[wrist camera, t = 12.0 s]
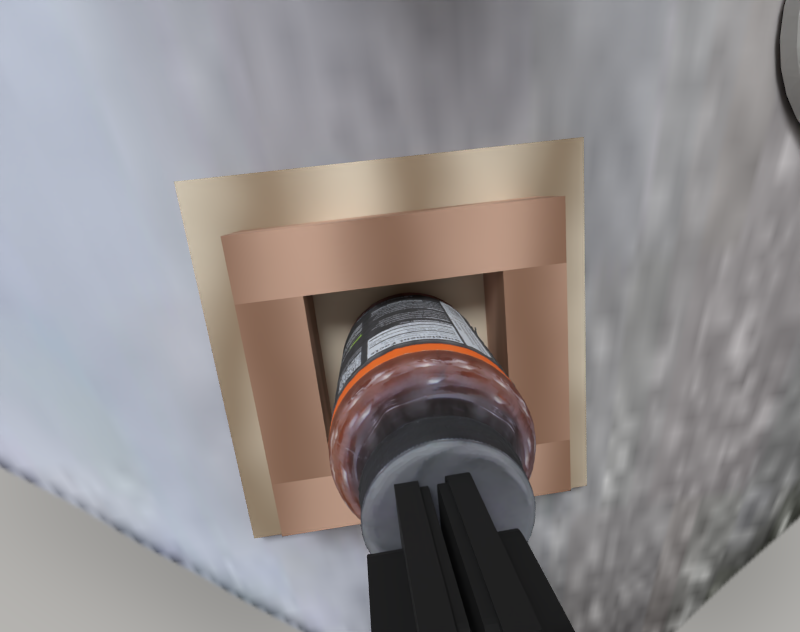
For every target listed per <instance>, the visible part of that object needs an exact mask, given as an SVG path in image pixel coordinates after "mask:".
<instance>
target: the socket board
mask: <svg viewBox="0 0 800 632" xmlns="http://www.w3.org/2000/svg"><path fill="white" fill-rule="evenodd" d="M174 184H175V188H176V193H177V197H178V201H179V206H180V210H181V215H182V219H183V224H184V228H185V233H186V237H187V241H188V246H189V250H190V255H191V259H192V264H193V268H194V273H195V277H196V281H197V286H198V290H199V295H200V299H201V304H202V308H203V312H204V317H205V321H206V326H207V330H208V335H209V339H210V344H211V348H212V352H213V357H214V361H215V366H216V370H217V375H218V379H219V384H220V388H221V392H222V397H223V401H224V406H225V410H226V415H227V419H228V424H229V428H230V432H231V437H232V441H233V446H234V450H235V455H236V459H237V464H238V468H239V472H240V477H241V481H242V486H243V490H244V495H245V499H246V504H247V508H248V512H249V517H250V521H251V526H252V530H253V535H254V538H260V537H266V536H272V535H279V534H282V536H288V535H294V534H300V533H307V532H313V531H319V530H326V529H332V528H338V527H344V526H351V525H357V524H361V520H360V519H358V518H357V516H356V515H354V514H353V513H352V512H351V510H350V509H349V508H348V507H347V505H346V504H345V502H344V501H343V499H342V497H341V495H340V494H339V492H338V490H337V488H336V485H335V483H334V480H333V477H332V474H331V468H330V461H329V447H328V442H329V433H330V426H331V418H332V412H333V406H334V402H335V395H336V389H337V383H338V378H339V372H340V367H341V361H342V356H343V349H344V345H345V342H346V340H347V337H348V334H349V332H350V330H351V328H352V326H353V324H354V323H355V322H356V320H357V319H358V317H359V316H360V315H361V314H362V313H363V312H364V311H365V310H366V309H368V308H369V307H370V306H371V305H372V304H374V303H375V302H377V301H379V300H381V299H383V298H386V297H388V296H392V295H395V294H400V293H408V292H411V293H424V294H428V295H432V296H435V297H437V298H439V299H441V300H444V301H445V302H447V303H448V304H450V305H451V306H452V307H453V308H455V309H456V310H457V311H458V312H459V313H460V314H461V315H462V316H463V317H464V318H465V319H466V320H467V321H468V322H469V324H470V326H472V327H473V329H474V330H475V328H474V327H476V331H477V334H478V337H479V338H481V340H482V341H483V343H484V345H485V346H486V347H487V348H488V349H489V351H490V352H491V353H492V355H493V357H494V358H495V359H496V361H497V362H498V364H499V365H501V366H502V368H503V370H504V371H505V373H506V374H507V376H508V377H509V379H510V380H511V381H512V382H513V383H514V385H515V387H516V389H517V390H518V391H519V393H520V395H521V396H522V398H523V399H524V401H525V403H526V405H527V407H528V409H529V411H530V414H531V416H532V420H533V423H534V430H535V435H536V452H535V461H534V465H533V471H532V474H531V477H530V479H529V482H530V484H531V487H532V490H533V494H534V496H539V495H545V494H552V493H558V492H564V491H571V488H575V487H581V486H587V468H586V356H585V244H584V137H580V138H571V139H562V140H552V141H543V142H534V143H525V144H516V145H506V146H497V147H488V148H479V149H470V150H461V151H451V152H442V153H433V154H424V155H415V156H406V157H396V158H387V159H378V160H369V161H360V162H350V163H341V164H332V165H323V166H314V167H305V168H295V169H286V170H277V171H268V172H259V173H249V174H240V175H231V176H222V177H213V178H204V179H194V180H185V181H176V182H174Z"/></svg>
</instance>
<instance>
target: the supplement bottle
mask: <svg viewBox="0 0 800 632" xmlns="http://www.w3.org/2000/svg"><path fill="white" fill-rule="evenodd" d="M474 328H475V330H474V329H473V327H472V326H470V324H469V322H468V321H467V320H466V319H465V318H464V317H463V316H462V315H461V314H460V313H459V312H458V311H457V310H456V309H455V308H453V307H452V306H451V305H450V304H448V303H447V302H445V301H444V300H441V299H439V298H437V297H435V296H432V295H428V294H424V293H411V292H408V293H400V294H395V295H392V296H388V297H386V298H383V299H381V300H379V301H377V302H375V303H374V304H372V305H371V306H370V307H369V308H368V309H366V310H365V311H364V312H363V313H362V314H361V315H360V316H359V317H358V319H357V320H356V322H355V323H354V324H353V326H352V328H351V330H350V332H349V334H348V337H347V340H346V342H345V345H344V349H343V356H342V361H341V367H340V372H339V378H338V383H337V389H336V395H335V402H334V406H333V412H332V418H331V426H330V433H329V442H328V447H329V461H330V468H331V474H332V477H333V480H334V483H335V485H336V488H337V490H338V492H339V494H340V495H341V497H342V499H343V501H344V502H345V504H346V505H347V507H348V508H349V509H350V510H351V512H352V513H353V514H354V515H356V516H357V518H358V519H360V520H361V529H362V535H363V538H364V542H365V545H366V547H367V549H368V550H369V552H370V554H374V553H380V552H385V551H391V550H396V549H402V546H401V538H400V530H399V522H398V515H397V507H396V499H395V491H394V484H399V483H405V482H411V481H418V483H419V487H423V486H428V487H429V490H430V493H431V497H432V500H433V503H434V507H435V510H436V514H437V517H438V521H439V524H440V527H441V523H440V513H439V503H438V494H437V484H441V483H445V476H447V475H453V474H459V473H465V472H470V474H471V476H472V478H473V480H474V482H475V485H476V487H477V489H478V491H479V493H480V495H481V498H482V500H483V502H484V504H485V506H486V508H487V511H488V513H489V515H490V517H491V519H492V521H493V524H494V526H495V528H496V530H497V532H498V531H504V530H510V529H515V528H518V529H519V530H520V531H521V532H522V534H523V535H524V537H525V539H526V541H527V542H528V540H529V538H530V536H531V533H532V529H533V526H534V521H535V498H534V494H533V490H532V487H531V484H530V482H529V479H530V477H531V474H532V471H533V465H534V461H535V452H536V435H535V430H534V423H533V420H532V416H531V414H530V411H529V409H528V407H527V405H526V403H525V401H524V399H523V398H522V396H521V395H520V393H519V391H518V390H517V389H516V387H515V385H514V383H513V382H512V381H511V380H510V379H509V377H508V376H507V374H506V373H505V371H504V370H503V368H502V366H501V365H499V364H498V362H497V361H496V359H495V358H494V357H493V355H492V353H491V352H490V351H489V349H488V348H487V347H486V346H485V345H484V343H483V341H482V340H481V338H479V337H478V334H477V331H476V327H474Z"/></svg>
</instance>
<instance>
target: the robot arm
mask: <svg viewBox="0 0 800 632" xmlns="http://www.w3.org/2000/svg"><path fill="white" fill-rule="evenodd" d="M780 55H781V71H782V76H783V80H784V85H785V90H786V94H787V97H788V99H789V102H790V104H791V106H792V109H793V111H794V113H795V116H796V118H797V120H798V121H799V122H800V0H786V2H785V5H784V11H783V19H782V27H781V34H780ZM394 491H395V499H396V507H397V515H398V522H399V530H400V538H401V546H402V549H396V550H391V551H385V552H380V553H374V554H368V555H367V564H368V581H369V598H370V615H371V632H575V631H574V629H573V627H572V625H571V623H570V621H569V620H568V618H567V616H566V614H565V612H564V610H563V608H562V606H561V605H560V603H559V601H558V599H557V597H556V595H555V593H554V592H553V590H552V588H551V586H550V584H549V582H548V580H547V578H546V577H545V575H544V573H543V571H542V569H541V567H540V565H539V564H538V562H537V560H536V558H535V556H534V554H533V552H532V550H531V549H530V547H529V545H528V543H527V541H526V539H525V537H524V535H523V534H522V532H521V531H520V530H519V529H518V528H515V529H510V530H504V531H498V532H497V530H496V528H495V526H494V524H493V521H492V519H491V517H490V515H489V513H488V511H487V508H486V506H485V504H484V502H483V500H482V498H481V495H480V493H479V491H478V489H477V487H476V485H475V482H474V480H473V478H472V476H471V474H470V472H465V473H459V474H453V475H447V476H445V483H441V484H437V494H438V503H439V513H440V523H441V527H440V524H439V521H438V517H437V514H436V510H435V507H434V503H433V500H432V497H431V493H430V490H429V487H428V486H423V487H419V483H418V481H411V482H405V483H399V484H394Z"/></svg>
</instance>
